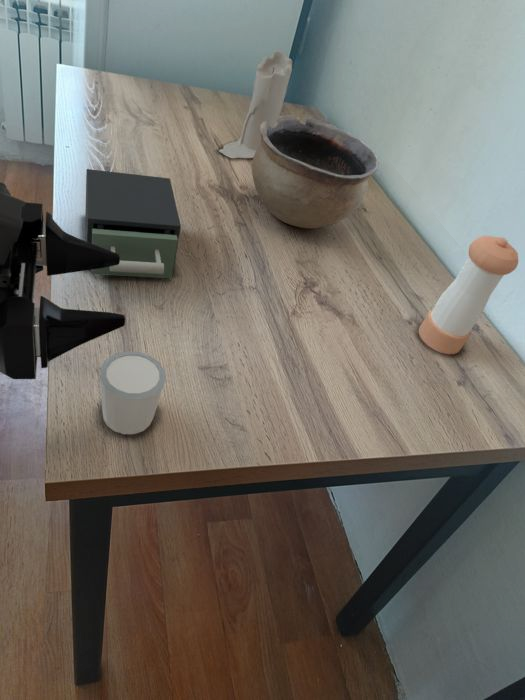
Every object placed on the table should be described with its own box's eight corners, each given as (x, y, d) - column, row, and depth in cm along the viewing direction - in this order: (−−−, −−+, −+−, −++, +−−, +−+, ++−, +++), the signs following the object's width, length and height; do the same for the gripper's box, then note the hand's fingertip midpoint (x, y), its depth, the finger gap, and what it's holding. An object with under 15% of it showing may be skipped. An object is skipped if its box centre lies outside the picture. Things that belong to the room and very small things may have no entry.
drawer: (175, 299, 77) (182, 260, 72) (91, 295, 73) (93, 254, 68) (162, 230, 88) (167, 193, 84) (89, 224, 84) (90, 185, 80)
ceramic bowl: (295, 179, 116) (316, 109, 106) (371, 232, 107) (403, 162, 97) (218, 197, 102) (235, 119, 92) (299, 260, 93) (327, 181, 83)
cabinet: (173, 274, 82) (181, 226, 76) (86, 269, 78) (87, 218, 72) (163, 224, 91) (170, 178, 85) (85, 218, 87) (86, 168, 81)
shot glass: (165, 433, 61) (173, 393, 56) (103, 443, 58) (106, 402, 53) (151, 388, 65) (157, 347, 60) (92, 395, 62) (94, 353, 57)
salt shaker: (463, 359, 85) (533, 260, 72) (419, 346, 84) (482, 244, 71) (458, 330, 90) (523, 234, 77) (417, 318, 90) (475, 218, 77)
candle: (212, 147, 117) (230, 48, 104) (254, 138, 126) (276, 46, 113) (235, 162, 114) (257, 63, 101) (276, 152, 124) (301, 60, 110)
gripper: (-110, 271, 35) (136, 283, 40) (-61, 141, 47) (122, 163, 52) (-79, 384, 42) (125, 382, 48) (-43, 246, 55) (115, 256, 60)
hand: (122, 288), depth 52 cm, fingers open, 9 cm apart
